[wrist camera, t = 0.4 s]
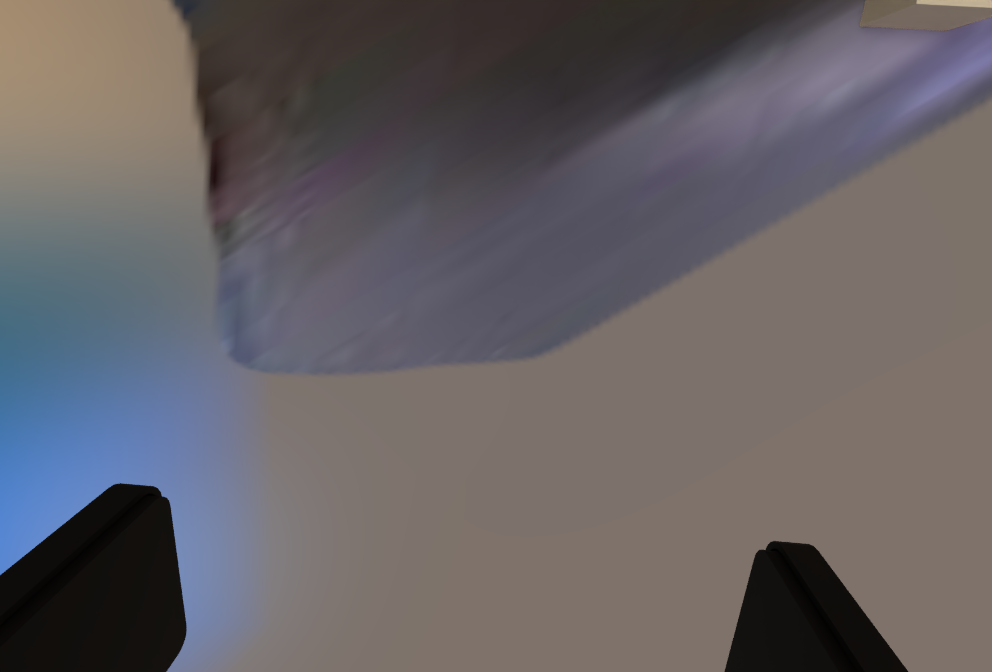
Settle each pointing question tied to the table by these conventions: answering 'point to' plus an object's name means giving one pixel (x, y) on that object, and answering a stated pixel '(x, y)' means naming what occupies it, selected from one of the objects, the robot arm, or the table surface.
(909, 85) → the table surface
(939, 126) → the table surface
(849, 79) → the table surface
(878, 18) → the block one
